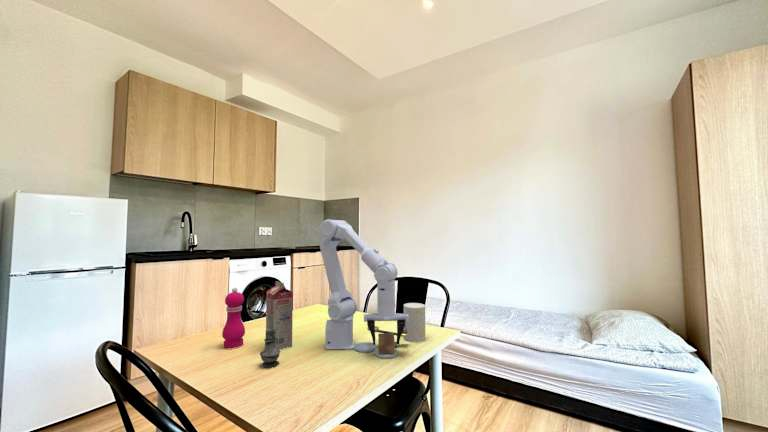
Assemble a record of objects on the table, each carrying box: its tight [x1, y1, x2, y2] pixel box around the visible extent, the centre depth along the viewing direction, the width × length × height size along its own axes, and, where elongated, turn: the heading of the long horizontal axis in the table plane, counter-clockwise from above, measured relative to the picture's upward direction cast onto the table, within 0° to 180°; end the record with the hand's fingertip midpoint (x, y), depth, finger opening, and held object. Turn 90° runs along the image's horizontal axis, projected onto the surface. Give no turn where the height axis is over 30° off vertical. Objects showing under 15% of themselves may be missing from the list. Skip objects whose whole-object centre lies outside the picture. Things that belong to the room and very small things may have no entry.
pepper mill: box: [221, 287, 246, 349], centre depth 109 cm, size 7×7×20 cm
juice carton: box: [265, 281, 294, 350], centre depth 109 cm, size 7×7×22 cm
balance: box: [367, 325, 409, 349], centre depth 108 cm, size 15×4×6 cm, turn 92°
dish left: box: [353, 341, 377, 354], centre depth 106 cm, size 8×8×1 cm
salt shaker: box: [259, 324, 282, 369], centre depth 93 cm, size 6×6×12 cm
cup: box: [403, 302, 426, 343], centre depth 117 cm, size 8×8×12 cm
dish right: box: [374, 348, 399, 359], centre depth 101 cm, size 8×8×1 cm
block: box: [377, 333, 396, 355], centre depth 101 cm, size 5×5×5 cm
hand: (386, 343), depth 101 cm, fingers open, 7 cm apart
